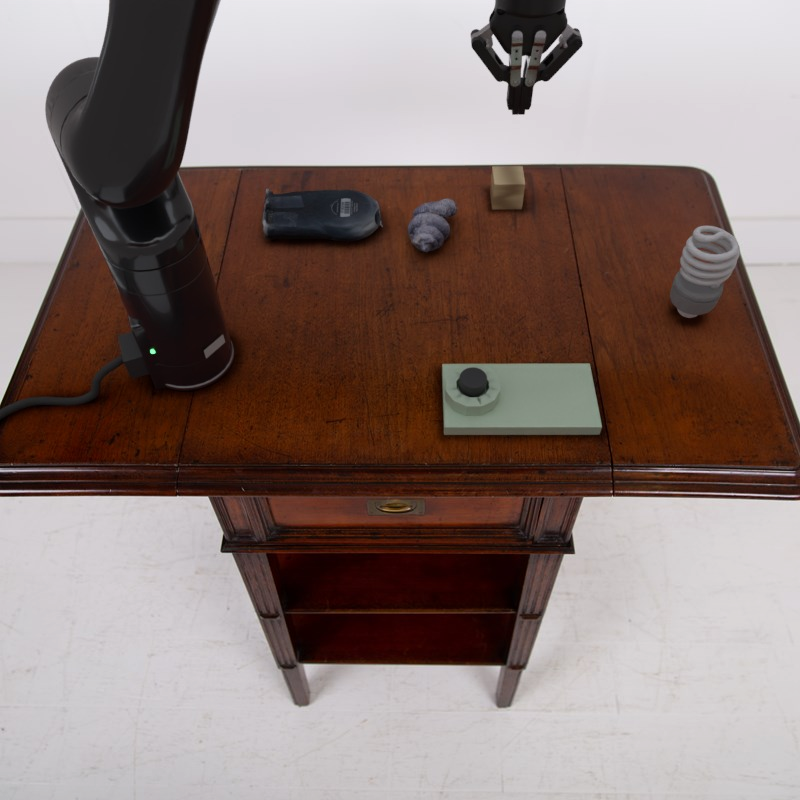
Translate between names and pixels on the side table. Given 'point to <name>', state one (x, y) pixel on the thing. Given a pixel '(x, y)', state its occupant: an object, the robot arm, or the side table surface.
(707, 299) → the light bulb
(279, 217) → the electronic device
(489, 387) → the pale green flat block
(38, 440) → the side table surface
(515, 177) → the block
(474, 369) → the button
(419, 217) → the seashell
